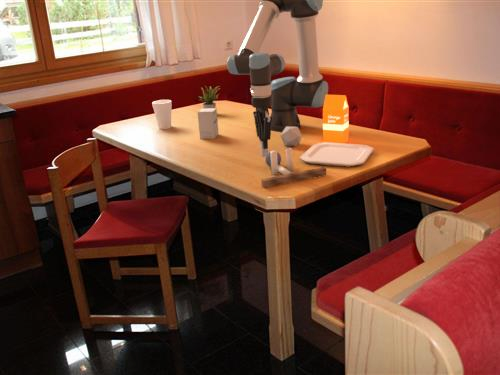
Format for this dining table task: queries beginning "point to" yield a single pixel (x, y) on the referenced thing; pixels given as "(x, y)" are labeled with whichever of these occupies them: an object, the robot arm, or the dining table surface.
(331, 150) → the plate
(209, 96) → the house plant
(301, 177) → the board
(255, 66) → the robot arm
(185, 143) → the dining table surface
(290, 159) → the pin
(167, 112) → the foam cup
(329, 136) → the orange juice
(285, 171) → the front pin
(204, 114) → the supplement box
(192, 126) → the dining table surface
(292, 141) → the die
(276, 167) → the pin
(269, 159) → the ball
